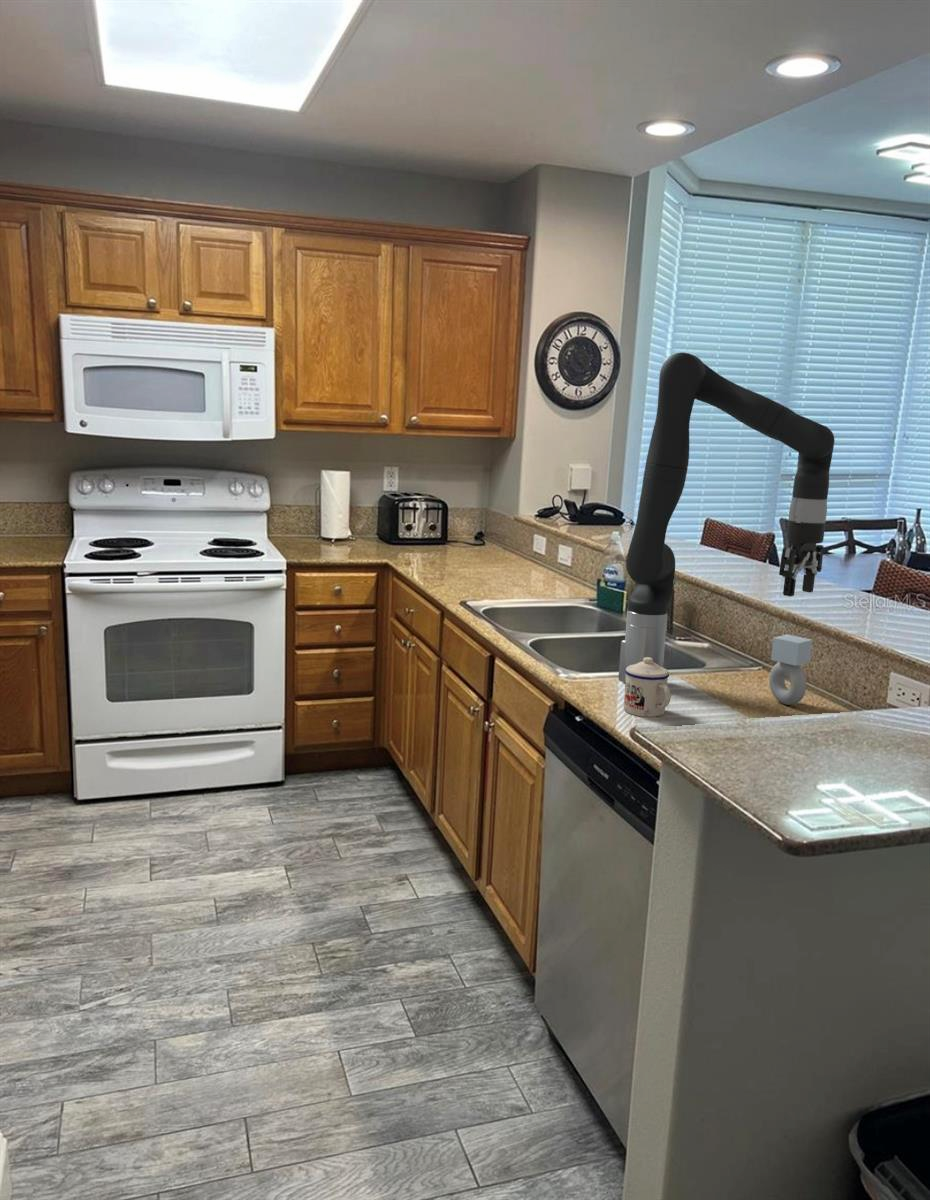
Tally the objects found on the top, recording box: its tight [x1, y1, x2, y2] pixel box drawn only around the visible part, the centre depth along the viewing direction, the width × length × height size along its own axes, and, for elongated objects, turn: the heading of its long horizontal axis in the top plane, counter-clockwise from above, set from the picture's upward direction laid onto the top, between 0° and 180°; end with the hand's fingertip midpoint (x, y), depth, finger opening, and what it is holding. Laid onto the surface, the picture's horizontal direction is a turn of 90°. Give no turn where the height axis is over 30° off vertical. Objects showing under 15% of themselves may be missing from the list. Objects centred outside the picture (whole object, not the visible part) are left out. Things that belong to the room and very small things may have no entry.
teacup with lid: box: [623, 657, 672, 718], centre depth 193 cm, size 12×9×12 cm
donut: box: [768, 661, 808, 706], centre depth 203 cm, size 10×4×10 cm, turn 24°
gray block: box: [770, 633, 813, 666], centre depth 202 cm, size 6×6×5 cm
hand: (797, 593), depth 199 cm, fingers open, 8 cm apart
